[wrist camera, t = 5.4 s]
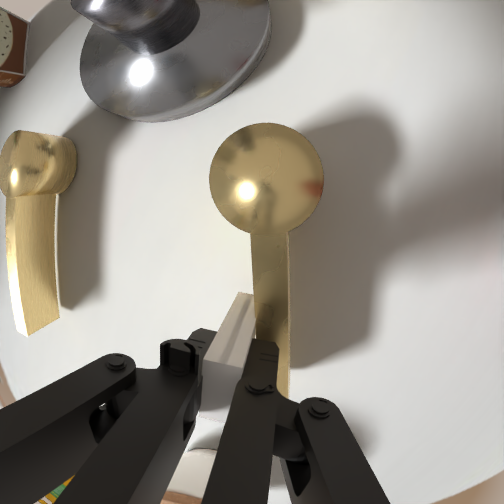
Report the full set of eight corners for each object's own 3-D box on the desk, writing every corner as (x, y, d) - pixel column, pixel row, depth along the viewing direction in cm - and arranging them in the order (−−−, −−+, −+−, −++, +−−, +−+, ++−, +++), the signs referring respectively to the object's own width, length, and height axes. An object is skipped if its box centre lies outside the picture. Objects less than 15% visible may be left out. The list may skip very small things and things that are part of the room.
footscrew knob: (45, 138, 16) (3, 133, 12) (81, 135, 16) (35, 127, 12) (42, 305, 19) (6, 324, 15) (75, 320, 19) (38, 344, 15)
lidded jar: (147, 458, 22) (112, 520, 13) (189, 414, 20) (144, 503, 10) (233, 500, 22) (216, 563, 13) (295, 466, 19) (288, 552, 10)
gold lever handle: (231, 146, 15) (207, 128, 10) (311, 142, 14) (319, 120, 10) (245, 375, 18) (232, 422, 13) (312, 376, 17) (315, 424, 12)
